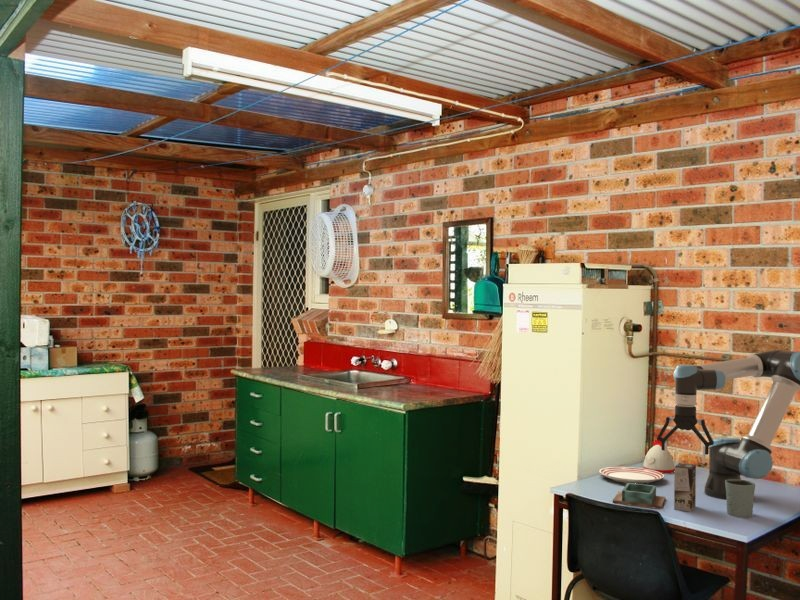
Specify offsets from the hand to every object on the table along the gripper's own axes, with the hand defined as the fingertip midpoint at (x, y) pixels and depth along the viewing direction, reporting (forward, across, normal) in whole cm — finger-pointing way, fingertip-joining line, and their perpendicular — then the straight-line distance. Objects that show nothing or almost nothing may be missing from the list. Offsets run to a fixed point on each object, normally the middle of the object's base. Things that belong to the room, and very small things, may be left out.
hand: (684, 461), depth 281 cm
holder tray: (+18, -17, +2) cm, 25 cm away
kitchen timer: (+18, -16, +62) cm, 67 cm away
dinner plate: (+18, -25, +38) cm, 49 cm away
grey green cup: (+18, +19, 0) cm, 26 cm away
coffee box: (+18, 0, 0) cm, 18 cm away
